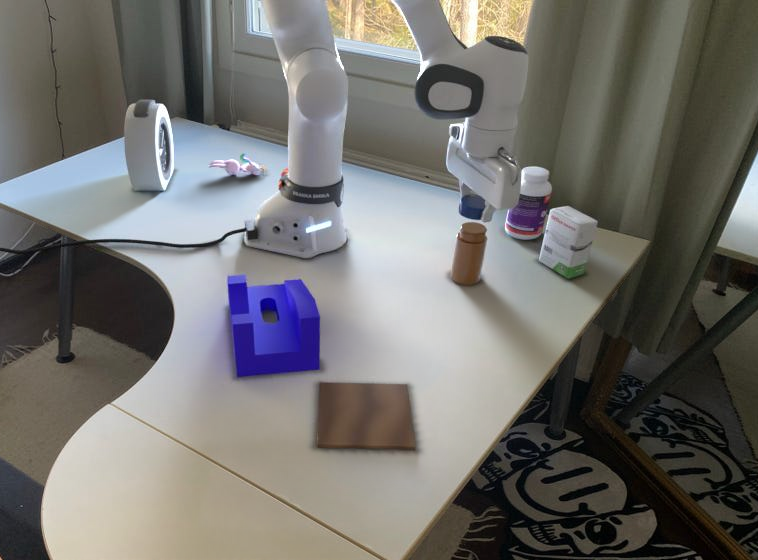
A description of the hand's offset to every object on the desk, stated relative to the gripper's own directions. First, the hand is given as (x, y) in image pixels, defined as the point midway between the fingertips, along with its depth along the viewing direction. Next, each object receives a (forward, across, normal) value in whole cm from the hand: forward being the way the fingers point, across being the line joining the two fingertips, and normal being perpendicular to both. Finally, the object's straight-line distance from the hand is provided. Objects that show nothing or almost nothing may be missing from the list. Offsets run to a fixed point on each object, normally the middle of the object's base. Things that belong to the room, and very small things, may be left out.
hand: (474, 212), depth 125 cm
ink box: (+14, -3, -21) cm, 25 cm away
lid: (-2, 0, 0) cm, 2 cm away
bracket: (+15, -8, +42) cm, 45 cm away
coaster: (+14, -32, +34) cm, 49 cm away
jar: (+14, 0, 0) cm, 14 cm away
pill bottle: (+14, +13, -22) cm, 29 cm away
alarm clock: (+15, +68, +52) cm, 87 cm away
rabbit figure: (+15, +65, +31) cm, 74 cm away
